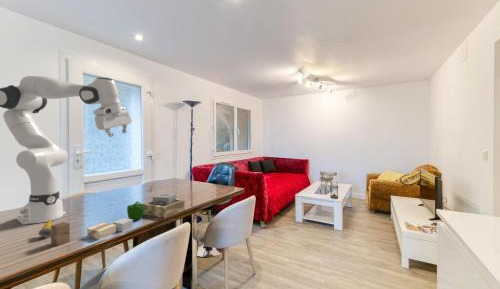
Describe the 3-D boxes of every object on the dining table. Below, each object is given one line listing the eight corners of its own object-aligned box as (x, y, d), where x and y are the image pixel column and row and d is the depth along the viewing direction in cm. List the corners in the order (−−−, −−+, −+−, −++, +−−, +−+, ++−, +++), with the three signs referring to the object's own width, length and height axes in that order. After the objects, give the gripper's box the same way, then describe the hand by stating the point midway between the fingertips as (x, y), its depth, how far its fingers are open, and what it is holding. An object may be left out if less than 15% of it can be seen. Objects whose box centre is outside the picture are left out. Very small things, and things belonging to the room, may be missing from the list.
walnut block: (51, 244, 94) (50, 225, 94) (63, 239, 98) (63, 221, 98) (57, 246, 92) (57, 227, 92) (69, 241, 96) (69, 223, 96)
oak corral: (142, 213, 132) (142, 203, 132) (163, 205, 147) (163, 196, 147) (164, 218, 125) (164, 207, 125) (184, 209, 141) (184, 199, 141)
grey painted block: (113, 230, 109) (113, 222, 109) (123, 225, 114) (123, 218, 114) (122, 232, 107) (122, 223, 107) (132, 227, 113) (132, 219, 112)
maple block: (87, 237, 101) (87, 228, 101) (104, 230, 109) (104, 222, 109) (99, 240, 98) (99, 231, 98) (116, 233, 106) (115, 224, 106)
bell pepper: (125, 218, 124) (125, 200, 124) (141, 215, 129) (141, 198, 129) (129, 223, 118) (129, 204, 117) (145, 219, 123) (145, 201, 123)
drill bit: (34, 241, 97) (39, 220, 103) (49, 242, 101) (52, 222, 107) (41, 235, 96) (46, 214, 102) (56, 236, 100) (59, 216, 106)
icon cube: (176, 209, 141) (176, 193, 141) (168, 214, 132) (168, 197, 131) (161, 208, 142) (161, 192, 142) (152, 213, 133) (152, 197, 132)
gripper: (122, 107, 128) (127, 130, 131) (90, 112, 109) (97, 139, 112) (131, 106, 126) (136, 130, 130) (100, 111, 107) (107, 139, 111)
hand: (118, 134), depth 121 cm, fingers open, 8 cm apart
